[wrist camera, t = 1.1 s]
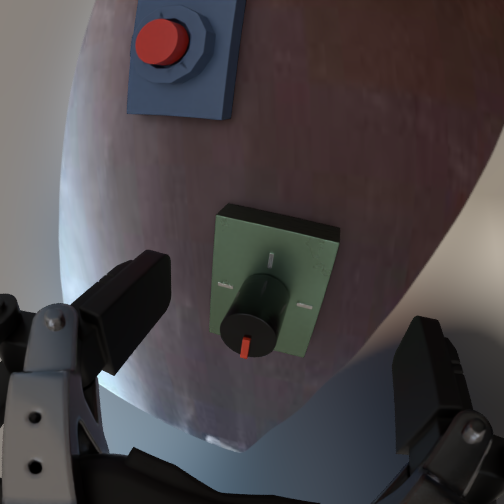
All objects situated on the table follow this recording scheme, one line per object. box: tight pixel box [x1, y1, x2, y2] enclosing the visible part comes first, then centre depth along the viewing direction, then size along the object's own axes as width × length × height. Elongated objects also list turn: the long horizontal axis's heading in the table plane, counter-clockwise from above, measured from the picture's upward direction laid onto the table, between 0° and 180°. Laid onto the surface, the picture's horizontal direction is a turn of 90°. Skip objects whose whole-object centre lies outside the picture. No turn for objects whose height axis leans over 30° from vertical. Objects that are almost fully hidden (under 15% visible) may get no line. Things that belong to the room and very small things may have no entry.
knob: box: [220, 274, 289, 359], centre depth 25 cm, size 4×4×6 cm
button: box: [135, 19, 189, 65], centre depth 18 cm, size 4×4×2 cm
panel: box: [209, 203, 340, 358], centre depth 29 cm, size 13×10×3 cm
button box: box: [127, 0, 246, 120], centre depth 20 cm, size 12×9×4 cm
